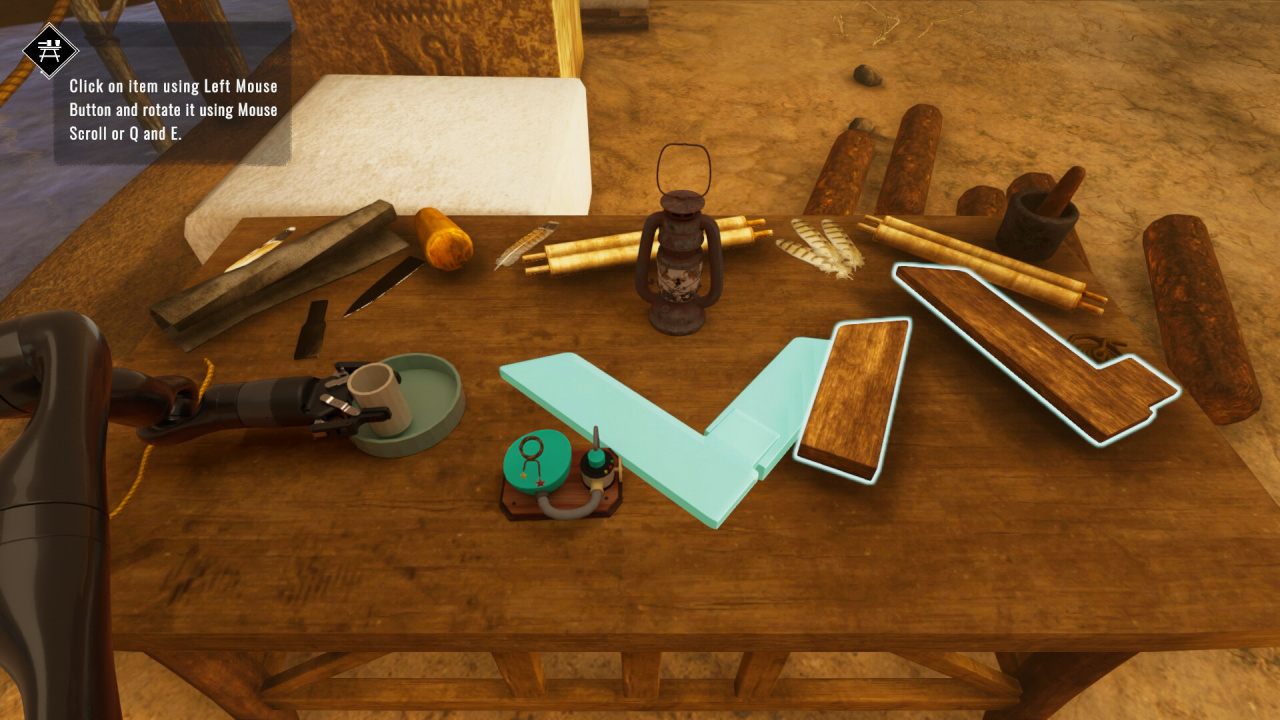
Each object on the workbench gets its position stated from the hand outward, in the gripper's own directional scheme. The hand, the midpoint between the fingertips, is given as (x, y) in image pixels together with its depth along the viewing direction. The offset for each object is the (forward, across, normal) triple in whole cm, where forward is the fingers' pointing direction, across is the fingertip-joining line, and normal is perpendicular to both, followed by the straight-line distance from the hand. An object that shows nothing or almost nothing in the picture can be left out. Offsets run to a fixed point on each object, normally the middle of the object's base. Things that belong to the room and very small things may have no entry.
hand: (394, 394), depth 87 cm
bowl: (-1, +4, +8) cm, 9 cm away
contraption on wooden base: (+25, -14, +8) cm, 30 cm away
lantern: (+47, +23, +8) cm, 53 cm away
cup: (-2, 0, +6) cm, 6 cm away
